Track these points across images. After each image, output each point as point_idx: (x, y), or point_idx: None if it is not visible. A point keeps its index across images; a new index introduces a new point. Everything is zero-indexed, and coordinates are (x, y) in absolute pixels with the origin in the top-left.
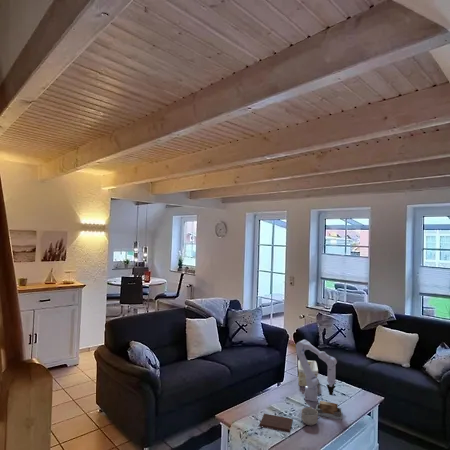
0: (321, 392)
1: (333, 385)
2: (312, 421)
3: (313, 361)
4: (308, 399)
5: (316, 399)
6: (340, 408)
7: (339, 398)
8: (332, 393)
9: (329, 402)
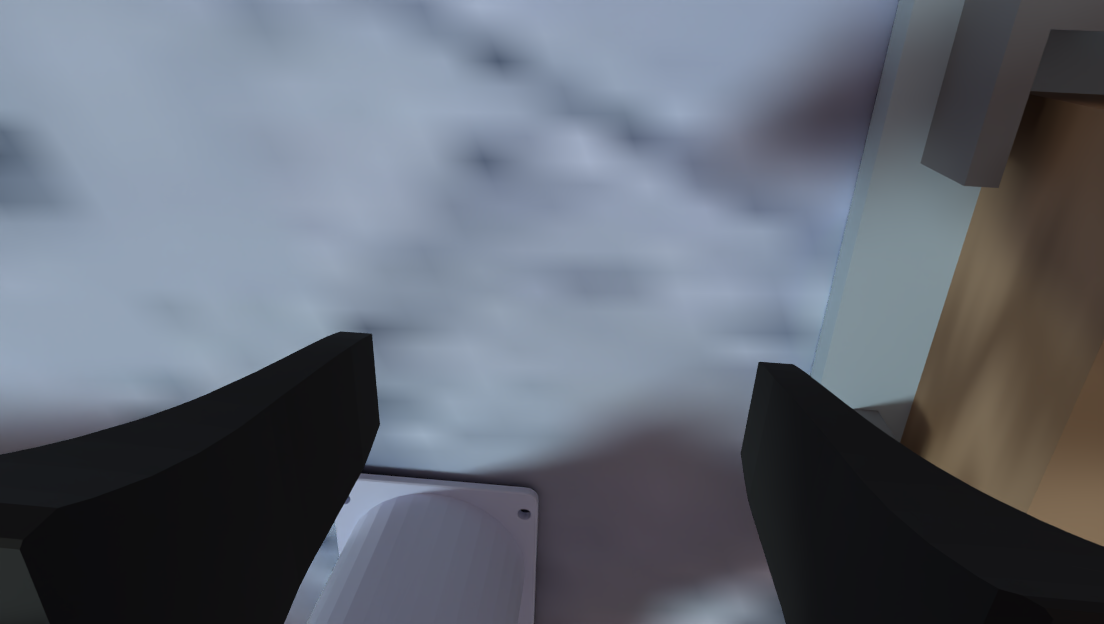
0: (78, 410)
1: (252, 448)
2: None
3: None
4: (522, 619)
5: (474, 511)
6: (1037, 6)
7: (116, 23)
8: (836, 404)
9: (1079, 395)
